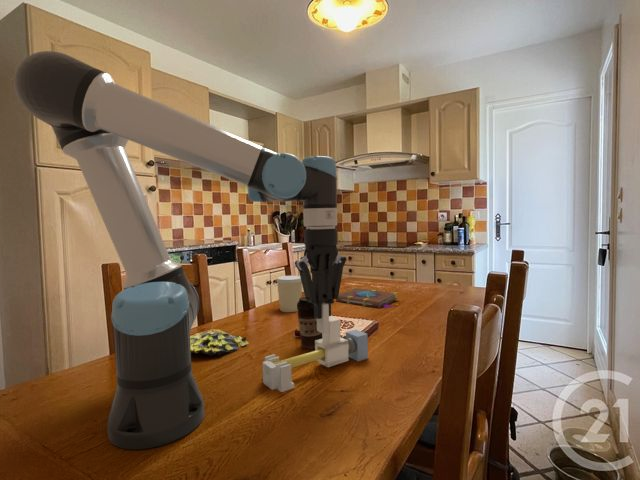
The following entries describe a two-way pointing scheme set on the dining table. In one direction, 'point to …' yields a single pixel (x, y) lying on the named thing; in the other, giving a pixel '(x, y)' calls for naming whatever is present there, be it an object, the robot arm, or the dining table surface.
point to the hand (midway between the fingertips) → (323, 331)
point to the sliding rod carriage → (333, 345)
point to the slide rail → (280, 371)
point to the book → (368, 297)
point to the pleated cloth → (216, 342)
